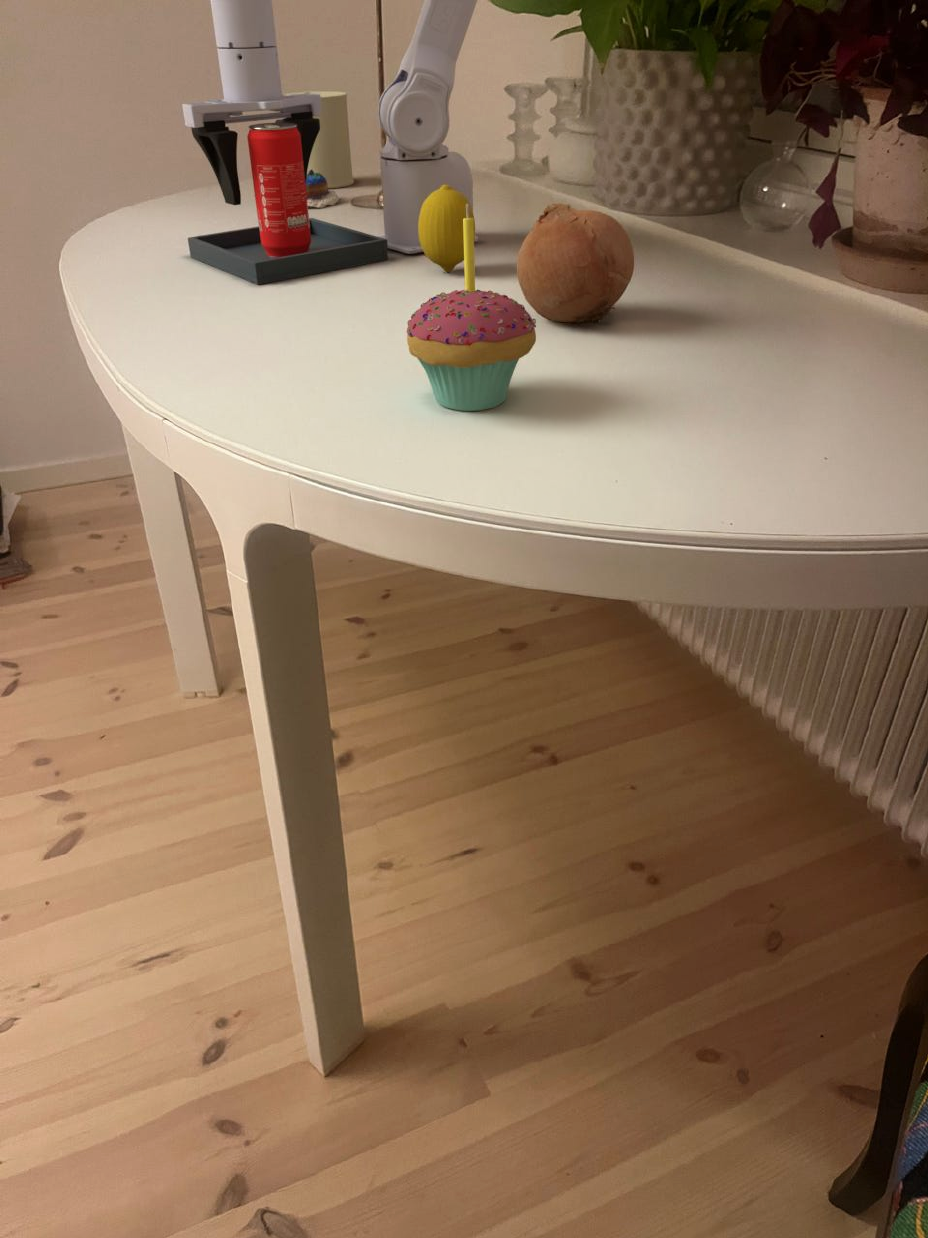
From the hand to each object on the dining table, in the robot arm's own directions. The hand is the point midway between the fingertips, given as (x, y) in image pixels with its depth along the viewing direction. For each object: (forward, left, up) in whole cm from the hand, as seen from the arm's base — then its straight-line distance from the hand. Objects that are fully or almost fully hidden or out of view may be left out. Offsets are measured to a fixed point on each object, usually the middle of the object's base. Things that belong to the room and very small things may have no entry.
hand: (265, 198), depth 99 cm
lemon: (-9, +19, -6) cm, 22 cm away
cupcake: (+11, +48, -6) cm, 50 cm away
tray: (0, +3, -5) cm, 6 cm away
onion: (-7, +39, -6) cm, 40 cm away
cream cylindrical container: (-27, -35, -6) cm, 44 cm away
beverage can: (0, +3, -5) cm, 6 cm away
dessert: (-18, -23, -6) cm, 29 cm away
